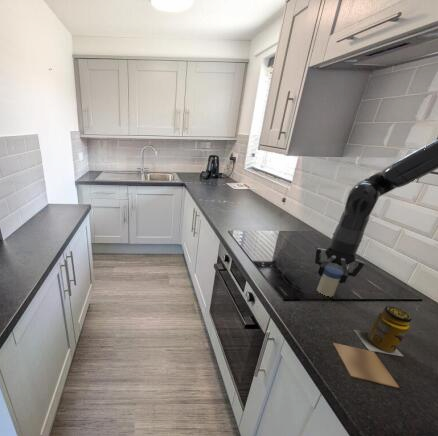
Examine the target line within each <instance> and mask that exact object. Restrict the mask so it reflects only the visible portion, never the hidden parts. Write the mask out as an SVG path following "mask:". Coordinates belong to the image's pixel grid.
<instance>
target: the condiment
mask: <svg viewBox="0 0 438 436" xmlns="http://www.w3.org/2000/svg"><path fill="white" fill-rule="evenodd" d="M411 321H412V316H411V315H410V313H408V312H407V311H406V310H404V309H401V308H398V307H396V306H391V305H387V306H385V307H384V309H383V310H382V312H380V313H379V314H378V316H377V318H376V319H375V321H374V323H373V325H372V327H371V329H370V331H365V330H358V329H353V332H354V333H355V334H356V336H357V337H358V338H359V340H360V341H361V343H363V345H364V346H365V347H366V348H367V350H369V351H373V352H374V353H376V352H377V353H381V354H387V355H392V356H399V357H404V355H403V354H402V352H401V351H400V350H398V347H399V345H400V344H401V342H402V340H403V339H404V337H405V335H406V333H407V332H408V331H409V329H410V324H411V323H410V322H411Z"/></svg>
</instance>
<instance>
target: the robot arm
mask: <svg viewBox="0 0 438 436" xmlns="http://www.w3.org/2000/svg"><path fill="white" fill-rule="evenodd" d="M426 145H427V146H426ZM426 145H424V146H422V147H420V148H418V149H416V150H415V151H412V152H410V153H409V154H407V155H405V156H403V157H402V158H400V159H398V160H397V161H394V162H393V163H391V164H390V165H388V166H386V167H384V168H383V169H382V170H381V171H378V172H376V173H374V174H372V175H370V176H368V177H366V178H365V179H363V180H361V181H359V182H357V183H356V184H354V185H353V187H352V188H351V189H350V191H349V193H348V196H347V198H346V202H345V206H344V210H343V212H342V214H341V216H340V218H339V221H338V223H337V226H336V227H335V230H334V232H333V233H332V238H331V240H330V243H329V245H328V247H327V248H326V249H325V248H322V247H320V246H319V247H317V249H316V251H315V260H314V264H316V265H318V266H319V267H318V270H317V274H318V275H319V276H320V277H322V274H323V270H324V268H325V267H326V266H328V265H329V264H330V263H331V264H334V265H338V266H340V267H342V272H343V276H342V278H341V280H340V282H339V284H345V283H346V282H347V279H348V277H353V278H355V277H356V276H357V275H358V274H359V272H360V271H361V270H362V269H363V268H364V266H365V260H360V259H358V258H356V254H357V252H358V250H359V247H360V245H361V243H362V241H363V238H364V234H365V230H366V228H367V226H368V224H369V221H370V217H371V213H372V212H373V210H374V209H375V206H376V204H377V202H378V199H379V198H380V197H382V196H384V195H385V194H387V193H389V192H392V191H393V190H394V189H398V188H402V187H404V186H407V185H409V184H411V183H413V182H415V181H416V180H415V179H417V180H419V179H421V178H423V177H425V176H427V175H429V174H430V173H432V172H434V171H436V170H438V139H436V140H435V141H432V142H429V143H428V144H426ZM425 147H426V148H425ZM424 149H425V150H424ZM414 180H415V181H414ZM323 254H325V255H326V258H325V259H324V260H323V261H322V260H321V259H322V255H323ZM352 263H354V266H355V267H354V268H353V269H352V270H350V269H349V264H352Z"/></svg>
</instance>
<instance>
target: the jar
mask: <svg viewBox="0 0 438 436" xmlns="http://www.w3.org/2000/svg"><path fill="white" fill-rule="evenodd" d="M340 280H341V279H334V278H331V277H328V276H327V275H325V274H324V273H323V274H322V276H320V280H319V282H318V283H317V284H318V285H317V287H316V292H318V293H319V294H320V293H321V294H320V295H322V294H323V295H322V296H324V295H325V296H324V297H327V296H329V297H328V298H333V297H334V296H335V295H336V291H337V289H338V288H339V284H340ZM332 296H333V297H332Z"/></svg>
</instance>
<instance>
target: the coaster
mask: <svg viewBox="0 0 438 436" xmlns="http://www.w3.org/2000/svg"><path fill="white" fill-rule="evenodd" d="M332 345H333V348H334V349H335V351H336V352H337V354H338V356H339V358H340V360H341V362H342V363H343V365H344V367H345V369H346V370H347V372H348V375H349V377H351V378H355V379H358V380H363V381H367V382H371V383H375V384H379V385H383V386H388V387H392V388H395V389H400V386H399V384H398V383H397V381H395V379H394V378H393V376H392V375H391V373H390V372H389V371H388V369H387V368H386V366H385V365H384V364H383V362H382V361H381V359H380V358H379V357H378V356H377V354H376V352H375V351H369V350H368V349H363V348H359V347H354V346H350V345H346V344H342V343H338V342H337V343H336V342H332Z"/></svg>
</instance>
